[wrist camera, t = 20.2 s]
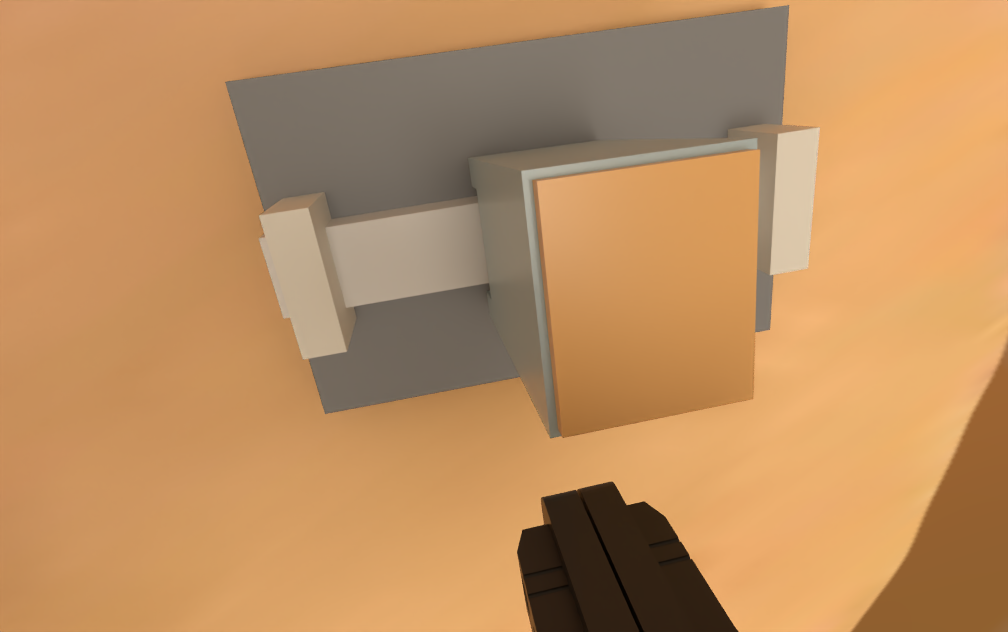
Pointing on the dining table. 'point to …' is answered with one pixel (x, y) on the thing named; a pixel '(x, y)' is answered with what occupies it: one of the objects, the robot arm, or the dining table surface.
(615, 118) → the mounting board
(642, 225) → the plate
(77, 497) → the dining table surface
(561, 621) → the robot arm
